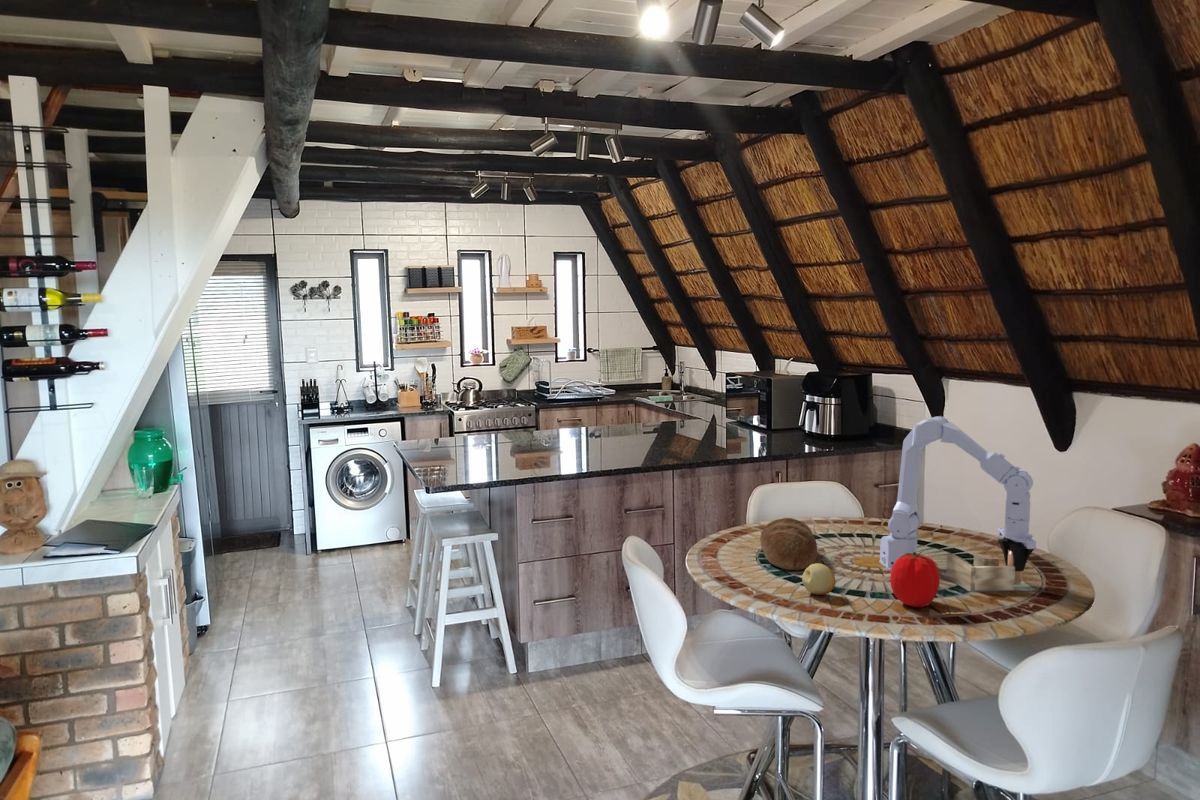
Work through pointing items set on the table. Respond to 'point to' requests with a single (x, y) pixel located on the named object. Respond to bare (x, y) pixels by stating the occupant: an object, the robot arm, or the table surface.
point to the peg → (1010, 563)
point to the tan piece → (981, 573)
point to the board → (994, 590)
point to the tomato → (915, 579)
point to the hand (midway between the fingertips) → (1014, 568)
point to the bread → (789, 544)
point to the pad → (1020, 584)
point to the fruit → (818, 579)
